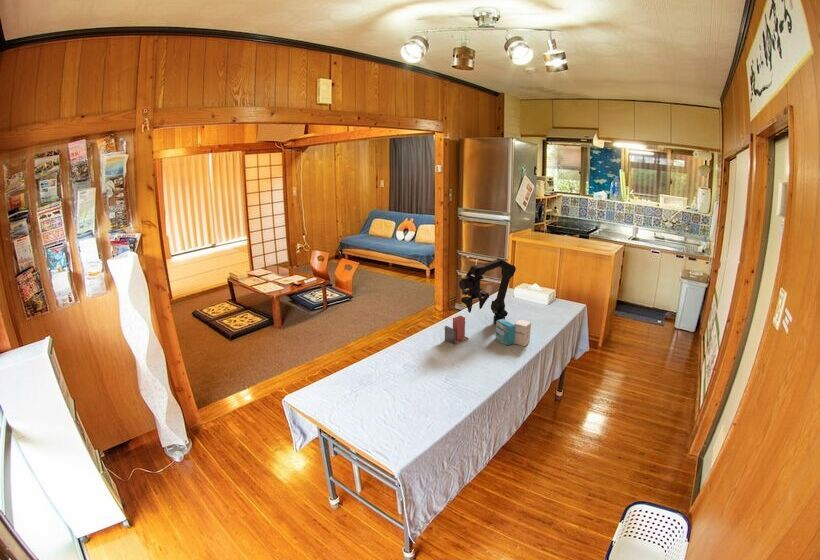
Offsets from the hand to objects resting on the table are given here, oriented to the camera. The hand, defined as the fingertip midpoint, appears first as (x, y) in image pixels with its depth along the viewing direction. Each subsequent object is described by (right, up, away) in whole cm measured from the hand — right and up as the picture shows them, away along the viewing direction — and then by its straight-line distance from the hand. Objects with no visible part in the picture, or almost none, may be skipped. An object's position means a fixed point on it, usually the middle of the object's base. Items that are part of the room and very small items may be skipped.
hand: (475, 310), depth 258 cm
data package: (+16, -17, -11) cm, 26 cm away
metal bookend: (-16, -18, -11) cm, 26 cm away
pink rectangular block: (-11, -15, -8) cm, 20 cm away
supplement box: (+25, -18, -13) cm, 33 cm away
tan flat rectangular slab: (-11, -16, -7) cm, 21 cm away
